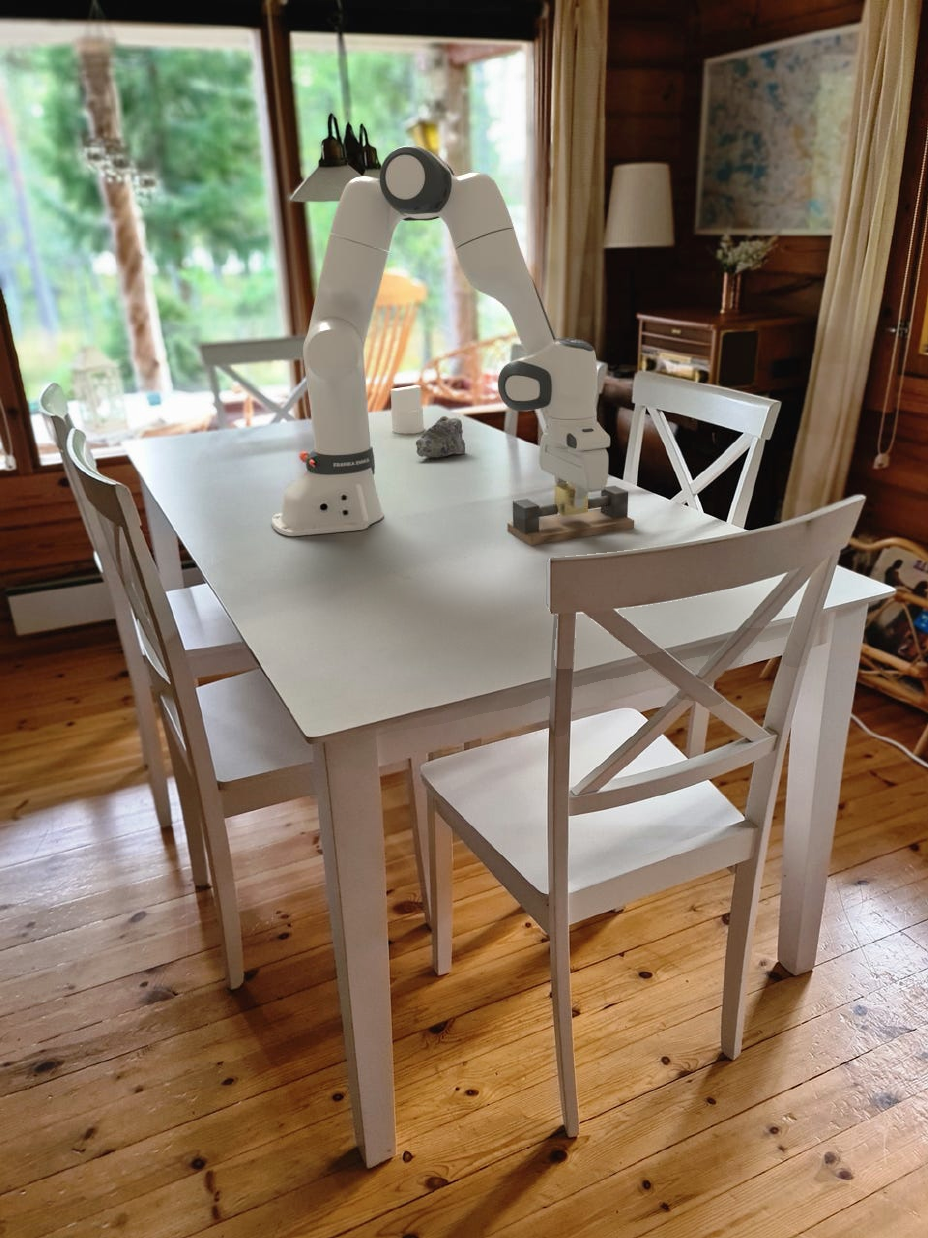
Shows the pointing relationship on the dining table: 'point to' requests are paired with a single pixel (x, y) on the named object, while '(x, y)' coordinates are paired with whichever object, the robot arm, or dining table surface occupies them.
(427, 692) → the dining table surface
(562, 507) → the yellow cube
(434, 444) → the mineral rock
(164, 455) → the dining table surface
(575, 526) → the shaft stand
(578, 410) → the robot arm
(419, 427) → the cylinder with rectangular tab
